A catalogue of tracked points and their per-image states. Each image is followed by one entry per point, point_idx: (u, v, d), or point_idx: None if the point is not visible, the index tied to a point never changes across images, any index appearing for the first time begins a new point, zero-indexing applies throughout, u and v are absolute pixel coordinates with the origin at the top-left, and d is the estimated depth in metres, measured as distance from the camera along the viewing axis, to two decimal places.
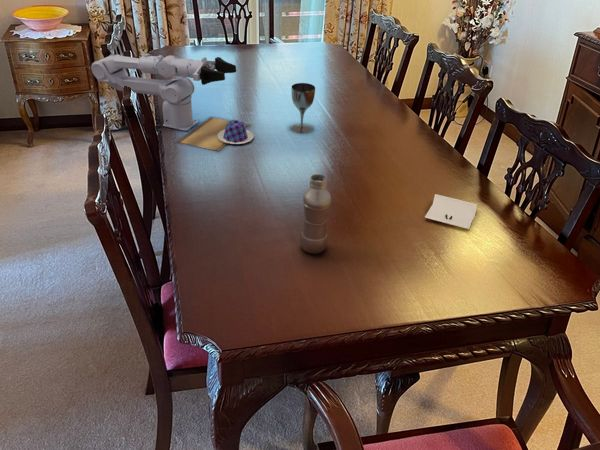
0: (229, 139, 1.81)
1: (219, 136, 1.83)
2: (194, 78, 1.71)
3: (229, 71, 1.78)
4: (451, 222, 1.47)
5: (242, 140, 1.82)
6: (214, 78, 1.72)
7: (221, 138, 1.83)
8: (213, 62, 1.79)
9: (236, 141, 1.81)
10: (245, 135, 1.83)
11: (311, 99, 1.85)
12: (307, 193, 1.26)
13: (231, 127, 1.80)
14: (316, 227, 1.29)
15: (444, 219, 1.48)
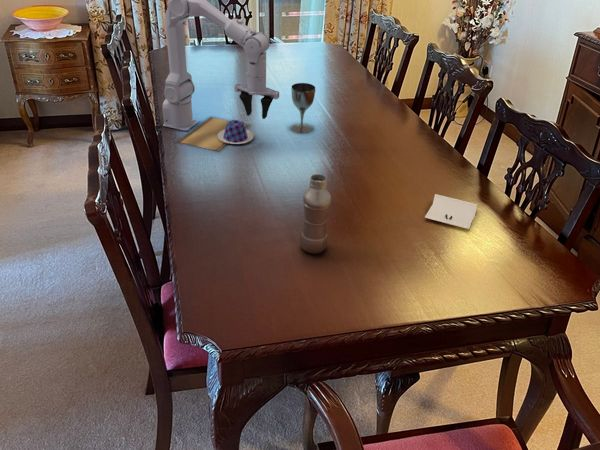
0: (229, 139, 1.81)
1: (219, 136, 1.83)
2: None
3: None
4: (451, 222, 1.47)
5: (242, 140, 1.82)
6: None
7: (221, 138, 1.83)
8: None
9: (236, 141, 1.81)
10: (245, 135, 1.83)
11: (311, 99, 1.85)
12: (307, 193, 1.26)
13: (231, 127, 1.80)
14: (316, 227, 1.29)
15: (444, 219, 1.48)
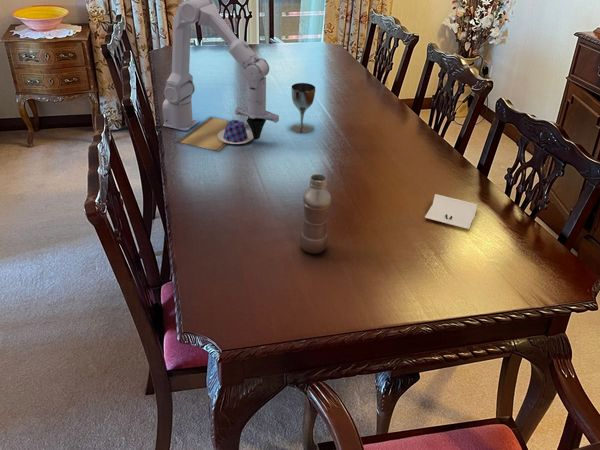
0: (229, 139, 1.81)
1: (219, 136, 1.83)
2: None
3: None
4: (451, 222, 1.47)
5: (242, 140, 1.82)
6: None
7: (221, 138, 1.83)
8: None
9: (236, 141, 1.81)
10: (245, 135, 1.83)
11: (311, 99, 1.85)
12: (307, 193, 1.26)
13: (231, 127, 1.80)
14: (316, 227, 1.29)
15: (444, 219, 1.48)
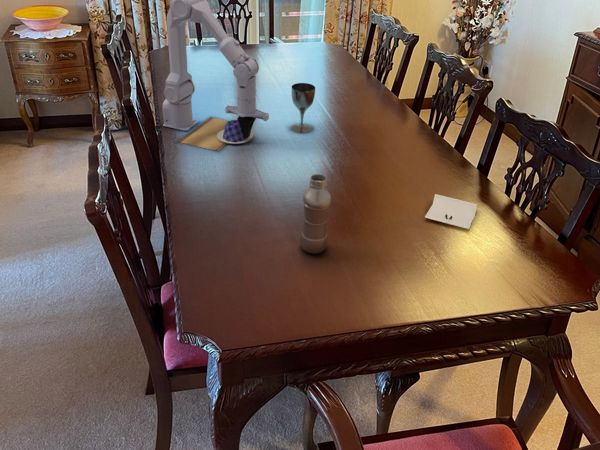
0: (228, 139, 1.81)
1: (218, 136, 1.84)
2: None
3: None
4: (451, 222, 1.47)
5: (241, 140, 1.82)
6: None
7: (220, 138, 1.83)
8: None
9: (235, 141, 1.81)
10: None
11: (311, 99, 1.85)
12: (307, 193, 1.26)
13: (230, 126, 1.80)
14: (316, 227, 1.29)
15: (444, 219, 1.48)
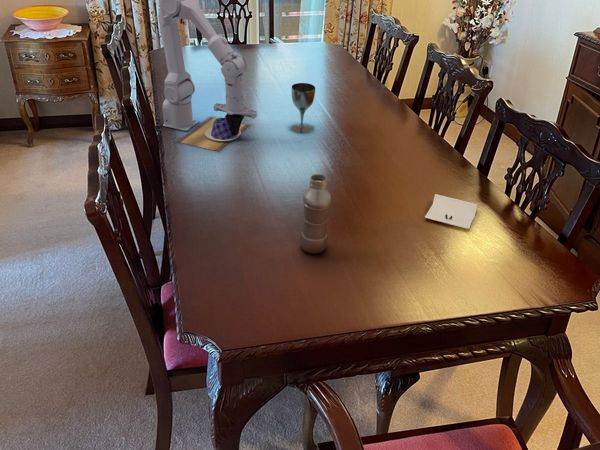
0: (217, 136, 1.82)
1: (207, 134, 1.85)
2: None
3: None
4: (451, 222, 1.47)
5: (230, 137, 1.83)
6: None
7: (209, 136, 1.84)
8: None
9: (224, 138, 1.82)
10: None
11: (311, 99, 1.85)
12: (307, 193, 1.26)
13: (218, 124, 1.81)
14: (316, 227, 1.29)
15: (444, 219, 1.48)
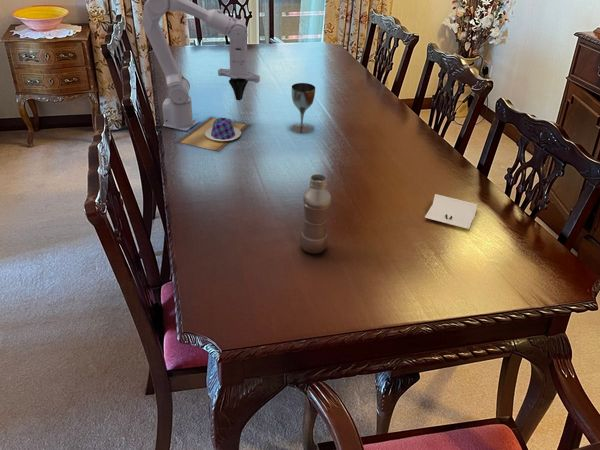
0: (217, 136, 1.82)
1: (207, 134, 1.85)
2: None
3: None
4: (451, 222, 1.47)
5: (230, 137, 1.83)
6: None
7: (209, 136, 1.84)
8: None
9: (224, 138, 1.82)
10: (232, 132, 1.84)
11: (311, 99, 1.85)
12: (307, 193, 1.26)
13: (218, 124, 1.81)
14: (316, 227, 1.29)
15: (444, 219, 1.48)
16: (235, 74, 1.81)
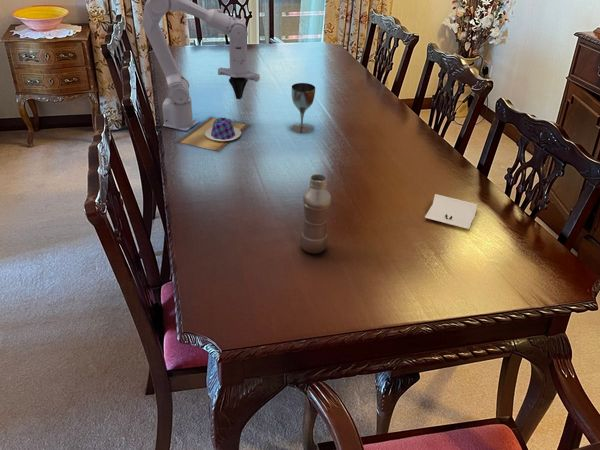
0: (217, 136, 1.82)
1: (207, 134, 1.85)
2: None
3: None
4: (451, 222, 1.47)
5: (230, 137, 1.83)
6: None
7: (209, 136, 1.84)
8: None
9: (224, 138, 1.82)
10: (232, 132, 1.84)
11: (311, 99, 1.85)
12: (307, 193, 1.26)
13: (218, 124, 1.81)
14: (316, 227, 1.29)
15: (444, 219, 1.48)
16: (235, 73, 1.81)
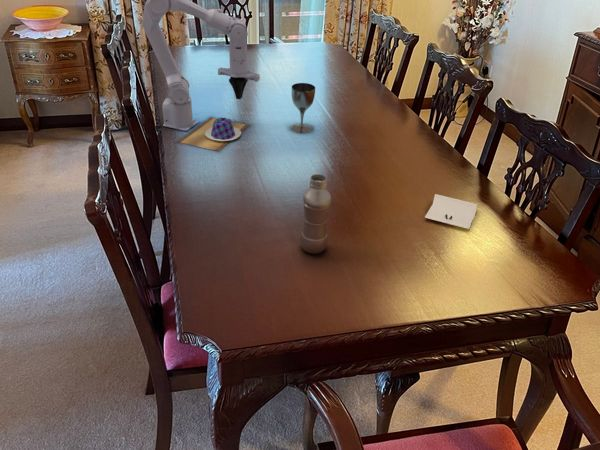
0: (217, 136, 1.82)
1: (207, 134, 1.85)
2: None
3: None
4: (451, 222, 1.47)
5: (230, 137, 1.83)
6: None
7: (209, 136, 1.84)
8: None
9: (224, 138, 1.82)
10: (232, 132, 1.84)
11: (311, 99, 1.85)
12: (307, 193, 1.26)
13: (218, 124, 1.81)
14: (316, 227, 1.29)
15: (444, 219, 1.48)
16: (235, 73, 1.81)
